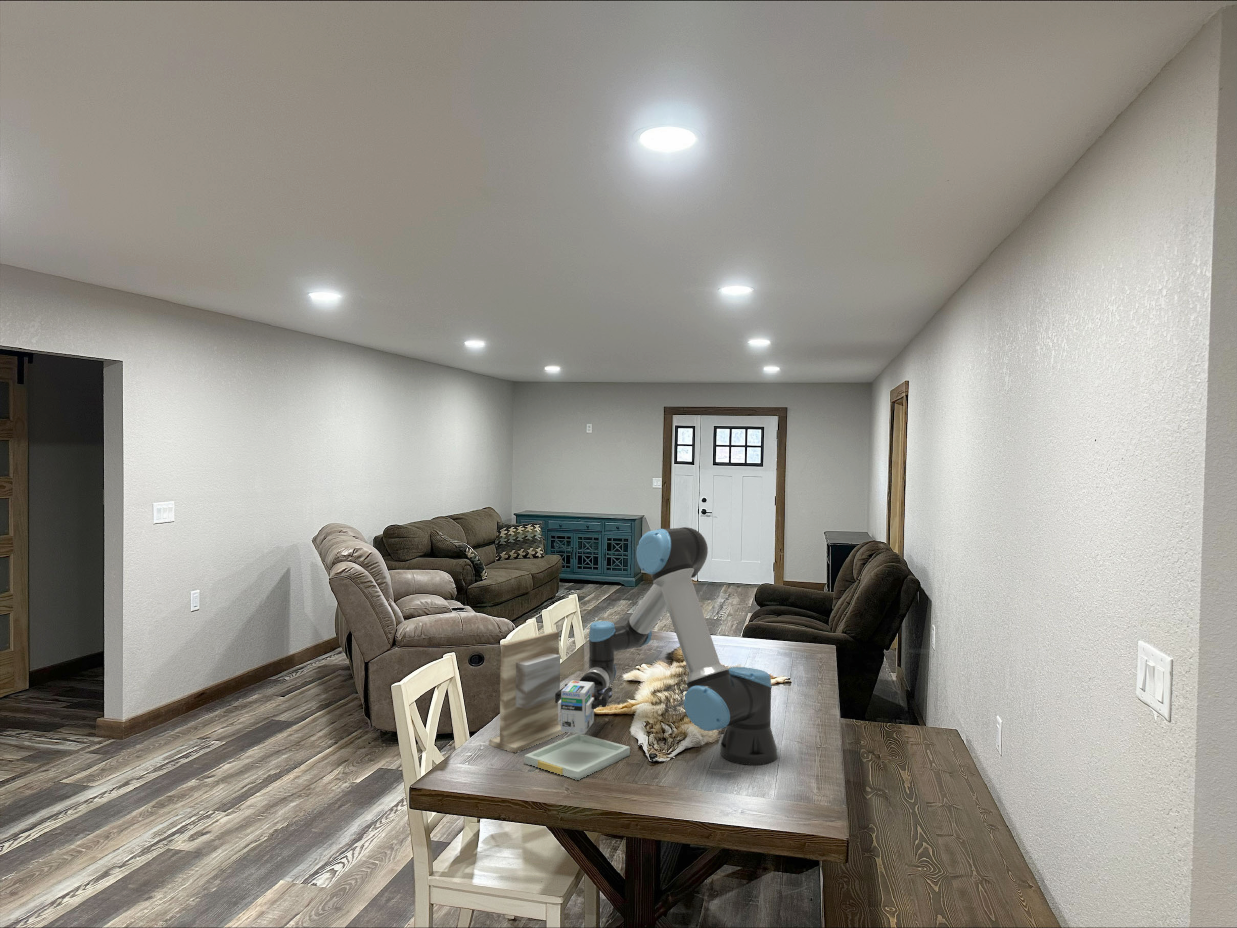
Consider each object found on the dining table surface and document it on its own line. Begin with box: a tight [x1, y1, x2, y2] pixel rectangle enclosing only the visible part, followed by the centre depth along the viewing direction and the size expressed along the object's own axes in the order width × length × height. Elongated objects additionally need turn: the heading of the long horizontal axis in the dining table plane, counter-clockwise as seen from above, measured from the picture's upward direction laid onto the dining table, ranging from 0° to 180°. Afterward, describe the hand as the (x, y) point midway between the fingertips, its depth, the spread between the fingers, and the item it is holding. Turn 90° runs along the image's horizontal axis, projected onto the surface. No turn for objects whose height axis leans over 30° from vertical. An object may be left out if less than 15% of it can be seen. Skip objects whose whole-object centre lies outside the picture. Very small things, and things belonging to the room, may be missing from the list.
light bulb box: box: [560, 679, 595, 735], centre depth 213 cm, size 11×7×11 cm, turn 168°
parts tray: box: [523, 733, 631, 781], centre depth 213 cm, size 18×22×2 cm
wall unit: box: [488, 630, 566, 754], centre depth 229 cm, size 10×22×28 cm, turn 143°
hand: (573, 708), depth 208 cm, fingers closed on light bulb box, 7 cm apart
